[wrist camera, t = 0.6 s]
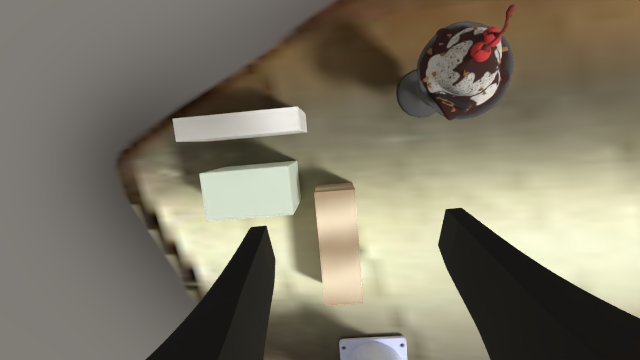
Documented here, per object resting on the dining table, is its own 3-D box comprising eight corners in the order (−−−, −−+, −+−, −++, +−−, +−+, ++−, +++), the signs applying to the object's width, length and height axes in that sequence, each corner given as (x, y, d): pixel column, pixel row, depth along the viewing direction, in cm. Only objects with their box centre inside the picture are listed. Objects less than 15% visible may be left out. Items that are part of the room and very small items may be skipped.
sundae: (434, 47, 29) (539, -47, 14) (463, 104, 30) (592, 70, 15) (378, 81, 30) (422, 25, 15) (408, 136, 31) (478, 134, 16)
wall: (307, 132, 31) (299, 130, 24) (210, 141, 32) (176, 141, 25) (305, 113, 31) (297, 106, 24) (207, 123, 31) (172, 118, 25)
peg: (359, 281, 34) (363, 303, 29) (325, 283, 34) (324, 305, 29) (351, 182, 32) (355, 189, 27) (316, 185, 32) (314, 192, 28)
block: (301, 199, 32) (293, 214, 26) (230, 205, 33) (206, 221, 26) (297, 160, 31) (288, 165, 25) (225, 166, 32) (199, 173, 26)
